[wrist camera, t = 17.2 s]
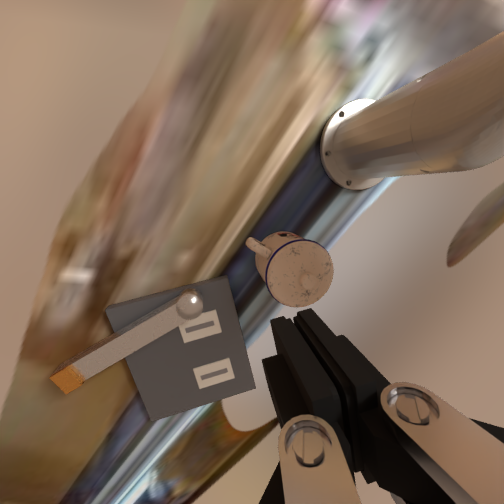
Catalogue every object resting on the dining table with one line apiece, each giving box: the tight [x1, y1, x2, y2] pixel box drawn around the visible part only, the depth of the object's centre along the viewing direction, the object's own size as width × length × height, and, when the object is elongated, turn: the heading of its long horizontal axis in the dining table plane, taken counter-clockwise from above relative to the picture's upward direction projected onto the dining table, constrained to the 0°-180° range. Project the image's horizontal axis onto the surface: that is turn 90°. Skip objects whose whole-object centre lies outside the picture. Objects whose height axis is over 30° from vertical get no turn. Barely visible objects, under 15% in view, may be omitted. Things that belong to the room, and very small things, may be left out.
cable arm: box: [50, 288, 203, 394], centre depth 35 cm, size 22×4×3 cm, turn 118°
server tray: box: [105, 275, 256, 422], centre depth 40 cm, size 18×21×2 cm
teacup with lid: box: [246, 231, 333, 307], centre depth 34 cm, size 12×9×12 cm
